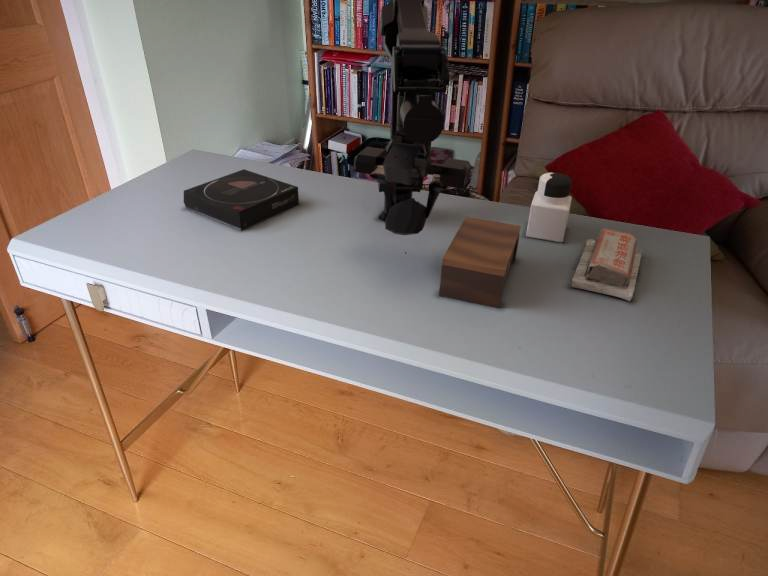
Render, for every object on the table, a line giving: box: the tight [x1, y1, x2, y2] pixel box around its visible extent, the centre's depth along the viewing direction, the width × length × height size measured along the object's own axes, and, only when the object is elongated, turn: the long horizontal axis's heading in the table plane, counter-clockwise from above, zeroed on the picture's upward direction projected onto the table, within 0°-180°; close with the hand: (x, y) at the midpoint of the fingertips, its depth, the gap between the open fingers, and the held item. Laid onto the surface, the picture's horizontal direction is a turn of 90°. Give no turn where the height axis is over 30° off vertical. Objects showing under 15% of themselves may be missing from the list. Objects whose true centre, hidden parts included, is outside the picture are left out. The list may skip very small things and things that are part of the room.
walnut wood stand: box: [438, 216, 522, 309], centre depth 101 cm, size 17×10×7 cm, turn 161°
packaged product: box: [571, 228, 643, 302], centre depth 104 cm, size 18×5×10 cm
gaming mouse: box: [384, 197, 428, 236], centre depth 101 cm, size 6×15×4 cm, turn 165°
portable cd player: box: [183, 168, 300, 231], centre depth 124 cm, size 16×17×4 cm
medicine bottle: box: [525, 171, 573, 243], centre depth 115 cm, size 7×7×12 cm
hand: (409, 214), depth 102 cm, fingers closed on gaming mouse, 6 cm apart
